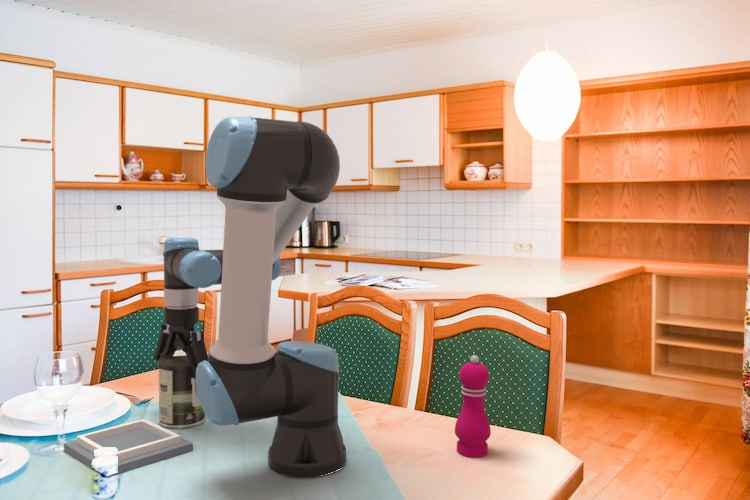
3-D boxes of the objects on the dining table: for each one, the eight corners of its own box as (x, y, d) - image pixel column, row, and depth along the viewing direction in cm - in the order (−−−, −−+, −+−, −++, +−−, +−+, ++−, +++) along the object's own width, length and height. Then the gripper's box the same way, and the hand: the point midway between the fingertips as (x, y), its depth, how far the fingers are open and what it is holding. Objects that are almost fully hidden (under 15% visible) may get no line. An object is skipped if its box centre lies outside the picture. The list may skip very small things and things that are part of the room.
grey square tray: (193, 450, 132) (193, 435, 132) (106, 477, 118) (105, 461, 118) (147, 428, 144) (147, 415, 144) (64, 450, 130) (63, 436, 130)
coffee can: (213, 415, 153) (213, 356, 152) (192, 430, 143) (192, 367, 142) (173, 412, 155) (172, 353, 154) (149, 426, 145) (149, 364, 144)
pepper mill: (447, 447, 135) (450, 352, 134) (477, 443, 138) (480, 350, 136) (466, 460, 129) (468, 360, 127) (497, 455, 131) (499, 357, 130)
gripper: (228, 311, 141) (228, 407, 143) (167, 298, 158) (167, 383, 160) (198, 315, 136) (198, 415, 138) (138, 301, 153) (139, 390, 154)
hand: (182, 398), depth 149 cm, fingers open, 13 cm apart
